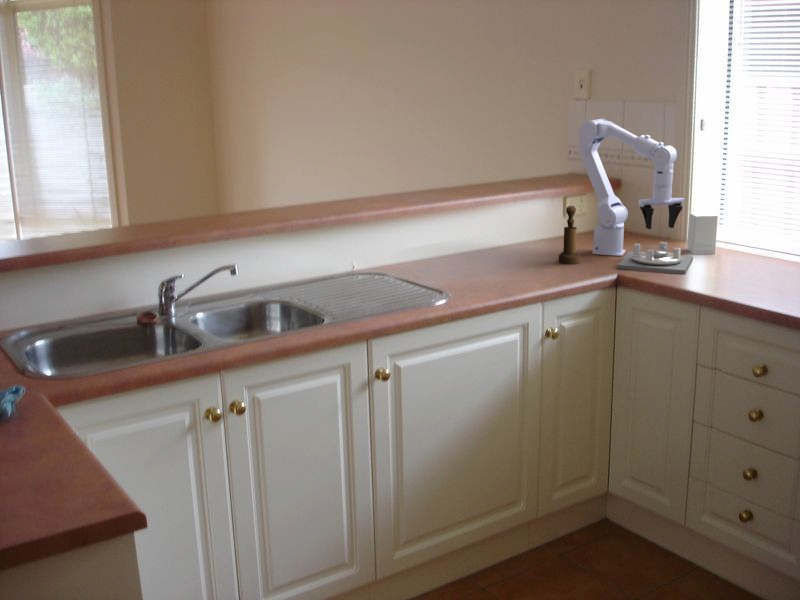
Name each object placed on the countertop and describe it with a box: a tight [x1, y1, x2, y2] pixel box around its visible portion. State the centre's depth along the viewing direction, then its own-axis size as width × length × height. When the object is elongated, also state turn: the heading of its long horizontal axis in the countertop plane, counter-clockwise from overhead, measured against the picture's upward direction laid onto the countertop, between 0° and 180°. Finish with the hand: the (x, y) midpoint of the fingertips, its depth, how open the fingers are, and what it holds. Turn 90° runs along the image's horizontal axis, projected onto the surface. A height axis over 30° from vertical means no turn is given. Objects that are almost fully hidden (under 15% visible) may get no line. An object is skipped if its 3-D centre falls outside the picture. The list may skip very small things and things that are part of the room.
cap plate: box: [617, 251, 694, 275], centre depth 295 cm, size 20×20×1 cm
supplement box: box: [686, 211, 719, 255], centre depth 310 cm, size 7×7×13 cm
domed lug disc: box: [632, 241, 682, 265], centre depth 294 cm, size 15×15×4 cm
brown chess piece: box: [558, 205, 581, 265], centre depth 297 cm, size 7×6×18 cm
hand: (659, 228), depth 298 cm, fingers open, 7 cm apart
